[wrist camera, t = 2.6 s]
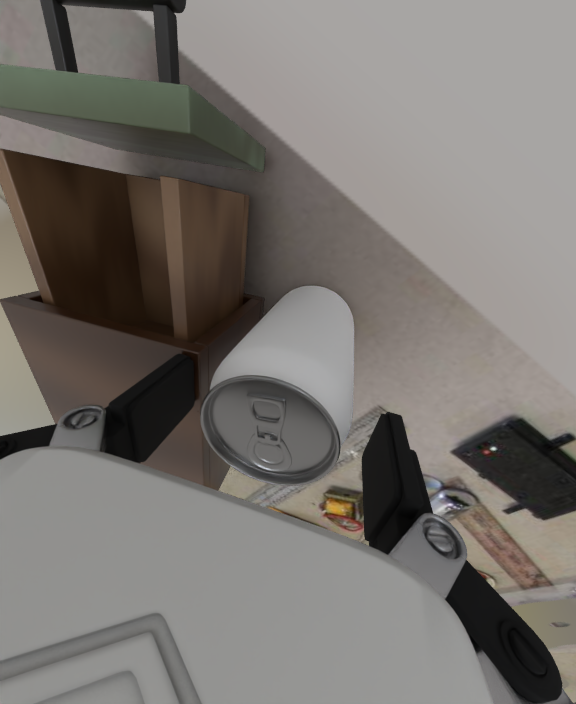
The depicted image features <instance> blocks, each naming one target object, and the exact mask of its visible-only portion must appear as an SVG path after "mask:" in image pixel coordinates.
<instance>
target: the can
mask: <svg viewBox="0 0 576 704" xmlns="http://www.w3.org/2000/svg"><path fill="white" fill-rule="evenodd" d="M353 390H354V321H353V316H352V313H351V310H350V308H349V307H348V305H347V303H346V302H345V301H344V300H343V299H342V298H341V297H340V296H339V295H338V294H336V293H335V292H333V291H331V290H329V289H327V288H324V287H320V286H303V287H299V288H296V289H294V290H292V291H290V292H288V293H287V294H286V295H285V296H283V297H282V298H281V299H280V300H279V301H278V302H277V303H276V304H275V305H274V306H273V307H272V308H271V310H270V311H269V312H268V313H267V314H266V315H265V316H264V317H263V318H262V319H261V320H260V321H259V322H258V323H257V324H256V325H255V326H254V327H253V328H252V330H251V331H250V332H249V333H248V334H247V335H246V336H245V337H244V338H243V339H242V340H241V341H240V342H239V343H238V344H237V346H236V347H235V348H234V349H233V350H232V351H231V352H230V353H229V354H228V355H227V357H226V358H225V359H224V360H223V361H222V362H221V364H220V365H219V367H218V368H217V370H216V371H215V373H214V375H213V378H212V381H211V385H210V391H209V392H208V394H207V395H206V396H205V398H204V400H203V402H202V405H201V410H200V422H201V427H202V430H203V433H204V435H205V438H206V439H207V441H208V443H209V444H210V446H211V447H212V449H213V450H214V451H215V452H216V453H217V455H218V456H219V457H220V458H221V459H223V460H224V461H225V462H226V463H227V464H229V465H230V466H231V467H233V468H234V469H236V470H237V471H239V472H241V473H242V474H244V475H246V476H248V477H251V478H253V479H256V480H259V481H262V482H265V483H269V484H274V485H281V486H298V485H304V484H308V483H312V482H314V481H317V480H319V479H321V478H322V477H324V476H325V475H327V474H328V473H329V472H330V471H331V470H332V469H333V467H334V466H335V464H336V462H337V460H338V458H339V454H340V447H341V445H342V444H343V443H344V441H345V439H346V438H347V436H348V434H349V431H350V428H351V423H352V415H353Z"/></svg>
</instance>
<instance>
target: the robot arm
mask: <svg viewBox="0 0 576 704" xmlns="http://www.w3.org/2000/svg"><path fill="white" fill-rule="evenodd" d="M194 403H195V392H194V362H193V360H191V357H189V356H186V355H183V354H176V355H175V356H173V357H172V358H171V359H169V360H168V361H166V362H165V363H164V364H162V365H161V366H160V367H158V368H157V369H155V370H154V371H153V372H151V373H150V374H148V375H147V376H146V377H144V378H143V379H142V380H140V381H139V382H137V383H136V384H135V385H133V386H132V387H130V388H129V389H128V390H126V391H125V392H123V393H122V394H121V395H119V396H118V397H117V398H115V399H114V400H112V401H111V402H110V403H109V406H107V407H106V408H105V409H104V408H103V407H102V406H100V405H93V404H92V405H84V406H79V407H77V408H74V409H72V410H70V411H68V412H66V413H65V414H64V415H63V416H62V417H61V418H60V420H59V421H58V423H57V424H55V425H50V426H45V427H41V428H36V429H31V430H27V431H22V432H18V433H13V434H8V435H4V436H0V704H576V703H573V702H572V701H571V700H570V698H569V697H568V695H567V694H566V693H565V691H564V690H563V688H562V681H561V677H560V673H559V670H558V668H557V666H556V663H555V661H554V659H553V657H552V655H551V654H550V652H549V651H548V649H547V648H546V646H545V645H544V643H543V642H542V641H541V639H540V638H539V637H538V636H537V635H536V634H535V632H534V631H533V630H532V629H531V628H530V627H529V626H528V625H527V624H526V623H525V621H523V620H522V618H521V617H520V616H519V615H518V614H517V613H516V612H515V611H514V610H513V609H512V608H511V607H510V606H509V605H508V603H507V602H506V601H505V600H504V599H503V598H502V597H501V596H500V595H499V594H498V593H497V592H496V591H495V590H494V589H493V588H492V587H491V586H490V584H489V583H488V582H487V581H486V580H485V579H484V578H483V577H482V576H481V575H480V574H479V573H478V572H477V571H476V570H475V569H474V568H473V566H472V565H471V564H470V563H469V562H468V561H467V560H466V558H467V549H466V545H465V543H464V541H463V538H462V537H461V536H460V534H459V533H458V531H457V530H456V529H455V528H454V527H453V526H452V525H451V524H450V523H449V522H448V521H447V520H445V519H444V518H442V517H440V516H438V515H436V514H433V511H432V508H431V504H430V500H429V497H428V493H427V490H426V486H425V482H424V479H423V475H422V472H421V468H420V464H419V461H418V457H417V454H416V452H415V451H414V450H411V449H410V447H409V443H408V439H407V435H406V431H405V427H404V423H403V419H402V416H401V415H398V414H394V413H390V412H387V413H386V414H381V416H380V418H379V420H378V423H377V425H376V427H375V429H374V431H373V433H372V435H371V438H370V440H369V442H368V444H367V446H366V448H365V450H364V453H363V456H362V481H363V509H364V536H365V540H367V541H369V546H368V545H366V544H363V543H361V542H359V541H356V540H353V539H351V538H348V537H346V536H343V535H340V534H338V533H335V532H332V531H330V530H327V529H324V528H322V527H319V526H316V525H313V524H311V523H308V522H305V521H302V520H299V519H297V518H294V517H291V516H288V515H285V514H282V513H280V512H277V511H274V510H271V509H268V508H266V507H263V506H260V505H257V504H254V503H251V502H249V501H246V500H243V499H240V498H237V497H234V496H232V495H229V494H226V493H223V492H220V491H217V490H214V489H212V488H209V487H206V486H203V485H200V484H197V483H194V482H191V481H189V480H186V479H183V478H180V477H177V476H174V475H171V474H168V473H165V472H162V471H159V470H157V469H154V468H151V467H148V466H145V465H142V464H140V463H141V462H145V461H146V460H147V459H148V458H149V457H150V455H151V454H152V453H153V452H154V451H155V450H156V449H157V448H158V446H159V445H160V444H161V443H162V442H163V441H164V440H165V439H166V437H167V436H168V435H169V434H170V433H171V432H172V431H173V430H174V428H175V427H176V426H177V425H178V424H179V423H180V422H181V421H182V419H183V418H184V417H185V416H186V415H187V414H188V413H189V412H190V410H191V409H192V408H193V406H194Z"/></svg>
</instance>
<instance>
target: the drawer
mask: <svg viewBox="0 0 576 704" xmlns="http://www.w3.org/2000/svg"><path fill="white" fill-rule="evenodd" d="M40 1H41V6H42V10H43V15H44V19H45V24H46V28H47V33H48V37H49V41H50V46H51V50H52V55H53V59H54V64H55V68H56V70H49V69H40V68H31V67H22V66H13V65H4V64H0V115H2V116H6V117H9V118H12V119H16V120H19V121H22V122H26V123H29V124H32V125H36V126H39V127H42V128H46V129H49V130H53V131H56V132H59V133H63V134H66V135H69V136H73V137H76V138H79V139H83V140H86V141H90V142H93V143H96V144H100V145H103V146H106V147H110V148H113V149H117V150H124V151H130V152H136V153H143V154H149V155H155V156H162V157H168V158H174V159H181V160H187V161H194V162H200V163H206V164H213V165H219V166H225V167H232V168H238V169H244V170H251V171H257V172H264V162H265V150H266V148H265V147H264V146H262V145H261V144H260V143H259V142H258V141H256V140H255V139H254V138H253V137H251V136H250V135H249V134H248V133H246V132H245V131H244V130H243V129H241V128H240V127H239V126H238V125H237V124H235V123H234V122H233V121H232V120H230V119H229V118H228V117H227V116H225V115H224V114H223V113H222V112H220V111H219V110H218V109H217V108H216V107H214V106H213V105H212V104H211V103H209V102H208V101H207V100H206V99H204V98H203V97H202V96H201V95H199V94H198V93H197V92H196V91H195V90H193V89H192V88H191V87H190V86H188V85H182V84H180V80H179V60H178V40H177V20H176V15H175V14H174V13H182V12H183V11H184V9H185V5H186V0H40ZM62 5H71V6H85V7H99V8H113V9H127V10H141V11H153V12H154V26H155V38H156V51H157V63H158V76H159V82H155V81H146V80H137V79H128V78H120V77H111V76H102V75H93V74H84V73H78V69H77V64H76V58H75V53H74V48H73V43H72V38H71V33H70V28H69V22H68V17H67V12H66V9H65V7H63V6H62ZM0 184H1V187H2V189H3V192H4V195H5V198H6V201H7V203H8V206H9V209H10V211H11V214H12V217H13V219H14V223H15V225H16V228H17V231H18V234H19V236H20V239H21V242H22V244H23V247H24V250H25V253H26V256H27V258H28V261H29V264H30V266H31V270H32V272H33V275H34V278H35V281H36V283H37V286H38V289H39V292H40V294H41V297H42V300H43V303H45V304H49V305H52V306H56V307H60V308H64V309H68V310H71V311H75V312H79V313H83V314H87V315H90V316H94V317H98V318H102V319H106V320H109V321H113V322H117V323H121V324H124V325H128V326H132V327H136V328H140V329H143V330H147V331H151V332H155V333H159V334H162V335H166V336H170V337H174V338H178V339H181V340H185V341H189V342H193V343H194V342H195V341H196V340H197V339H199V338H200V337H201V336H203V335H204V334H205V333H207V332H208V331H209V330H211V329H212V328H213V327H215V326H216V325H217V324H219V323H220V322H221V321H223V320H224V319H225V318H227V317H228V316H229V315H230V314H232V313H233V312H234V311H236V310H237V309H238V308H240V307H241V306H242V305H243V293H244V277H245V261H246V244H247V228H248V212H249V195H246V194H241V193H237V192H233V191H229V190H225V189H220V188H216V187H212V186H208V185H203V184H199V183H195V182H191V181H187V180H182V179H178V178H172V177H166V176H160V180H158V179H153V178H147V177H141V176H135V175H129V174H124V173H119V172H114V171H109V170H104V169H99V168H94V167H89V166H84V165H79V164H74V163H70V162H65V161H60V160H55V159H50V158H45V157H40V156H35V155H30V154H25V153H20V152H15V151H10V150H5V149H0Z"/></svg>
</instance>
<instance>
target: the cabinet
mask: <svg viewBox="0 0 576 704" xmlns="http://www.w3.org/2000/svg"><path fill="white" fill-rule="evenodd" d="M0 302H1V305H2V307H3V309H4V311H5V313H6V316H7V318H8V320H9V322H10V324H11V327H12V329H13V331H14V333H15V336H16V338H17V340H18V342H19V344H20V346H21V349H22V351H23V353H24V355H25V357H26V360H27V362H28V364H29V367H30V369H31V371H32V373H33V375H34V378H35V379H36V382H37V384H38V386H39V388H40V391H41V393H42V395H43V397H44V399H45V402H46V404H47V406H48V408H49V411H50V413H51V415H52V417H53V419H54V422H55V424H57V423H58V421H59V420H60V418H61V417H62V416H63V415H64V414H65V413H66V412H68V411H70V410H72V409H74V408H77V407H79V406H84V405H92V404H93V405H100V406H102V407H103V408H104V409H105V408H106V407H107V406H109V403H110V402H111V401H112V400H114V399H115V398H117V397H118V396H119V395H121V394H122V393H123V392H125V391H126V390H128V389H129V388H130V387H132V386H133V385H135V384H136V383H137V382H139V381H140V380H142V379H143V378H144V377H146V376H147V375H148V374H150V373H151V372H153V371H154V370H155V369H157V368H158V367H160V366H161V365H162V364H164V363H165V362H166V361H168V360H169V359H171V358H172V357H173V356H175V355H176V354H183V355H186V356H189V357H191V360H193V362H194V392H195V403H194V406H193V408H192V409H191V410H190V412H189V413H188V414H187V415H186V416H185V417H184V418H183V419H182V421H181V422H180V423H179V424H178V425H177V426H176V427H175V428H174V430H173V431H172V432H171V433H170V434H169V435H168V436H167V437H166V439H165V440H164V441H163V442H162V443H161V444H160V445H159V446H158V448H157V449H156V450H155V451H154V452H153V453H152V454H151V455H150V457H149V458H148V459H147V460H146V461H145V462H141V463H140V464H142V465H145V466H148V467H151V468H154V469H157V470H159V471H162V472H165V473H168V474H171V475H174V476H177V477H180V478H183V479H186V480H189V481H191V482H194V483H197V484H200V485H203V486H206V487H209V488H212V489H214V490H217V491H218V490H219V488H220V486H221V484H222V482H223V480H224V478H225V476H226V474H227V472H228V470H229V468H230V465H229V464H227V463H226V462H225V461H224V460H223V459H221V458H220V457H219V456H218V455H217V453H216V452H215V451H214V450H213V449H212V447H211V446H210V444H209V443H208V441H207V439H206V438H205V435H204V433H203V430H202V427H201V422H200V410H201V405H202V402H203V400H204V398H205V396H206V395H207V394H208V392H209V391H210V385H211V381H212V378H213V375H214V373H215V371H216V370H217V368H218V367H219V365H220V364H221V362H222V361H223V360H224V359H225V358H226V357H227V355H228V354H229V353H230V352H231V351H232V350H233V349H234V348H235V347H236V346H237V344H238V343H239V342H240V341H241V340H242V339H243V338H244V337H245V336H246V335H247V334H248V333H249V332H250V331H251V330H252V328H253V327H254V326H255V325H256V324H257V323H258V322H259V321H260V320H261V319H262V315H263V305H264V298H262V297H258V296H254V295H249V294H245V293H243V305H242V306H241V307H240V308H238V309H237V310H236V311H234V312H233V313H232V314H230V315H229V316H228V317H227V318H225V319H224V320H223V321H221V322H220V323H219V324H217V325H216V326H215V327H213V328H212V329H211V330H209V331H208V332H207V333H205V334H204V335H203V336H201V337H200V338H199V339H197V340H196V341H195V342H194V343H193V342H189V341H185V340H181V339H178V338H174V337H170V336H166V335H162V334H159V333H155V332H151V331H147V330H143V329H140V328H136V327H132V326H128V325H124V324H121V323H117V322H113V321H109V320H106V319H102V318H98V317H94V316H90V315H87V314H83V313H79V312H75V311H71V310H68V309H64V308H60V307H56V306H52V305H49V304H45V303H43V300H42V297H41V294H40V292H39V291H36V292H31V293H26V294H22V295H18V296H13V297H8V298H4V299H0Z"/></svg>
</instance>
